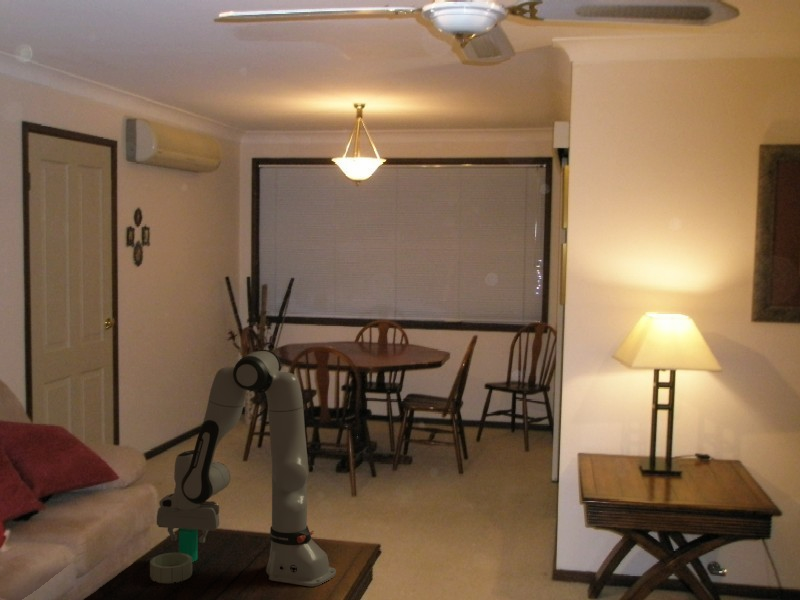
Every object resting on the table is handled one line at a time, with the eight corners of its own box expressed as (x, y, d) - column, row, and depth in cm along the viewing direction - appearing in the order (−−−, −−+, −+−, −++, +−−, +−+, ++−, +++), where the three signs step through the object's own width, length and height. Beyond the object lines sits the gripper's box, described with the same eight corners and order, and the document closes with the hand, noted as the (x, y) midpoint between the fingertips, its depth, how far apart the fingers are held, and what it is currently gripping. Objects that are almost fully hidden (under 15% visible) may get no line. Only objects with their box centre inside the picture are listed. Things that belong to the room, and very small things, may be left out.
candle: (201, 558, 279) (201, 522, 278) (189, 564, 274) (189, 528, 273) (186, 555, 282) (186, 519, 281) (174, 561, 276) (174, 525, 275)
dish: (200, 572, 268) (200, 557, 267) (172, 586, 257) (172, 571, 257) (170, 564, 274) (170, 549, 273) (142, 577, 263) (141, 562, 262)
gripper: (222, 498, 278) (222, 539, 279) (162, 495, 280) (162, 535, 281) (216, 504, 272) (215, 546, 273) (154, 501, 274) (154, 542, 275)
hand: (188, 541), depth 277 cm, fingers open, 8 cm apart
